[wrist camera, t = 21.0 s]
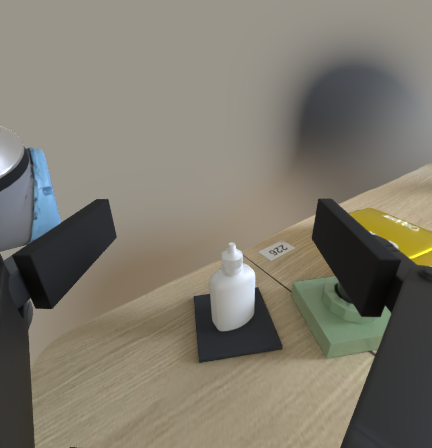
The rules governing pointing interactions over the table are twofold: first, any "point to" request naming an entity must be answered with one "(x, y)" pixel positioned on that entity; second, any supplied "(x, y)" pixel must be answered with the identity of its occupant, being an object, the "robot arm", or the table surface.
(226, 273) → the eye dropper bottle
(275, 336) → the slate mat
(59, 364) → the table surface
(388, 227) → the element tile
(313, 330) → the button housing
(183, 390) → the table surface
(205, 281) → the table surface
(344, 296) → the black round knob
